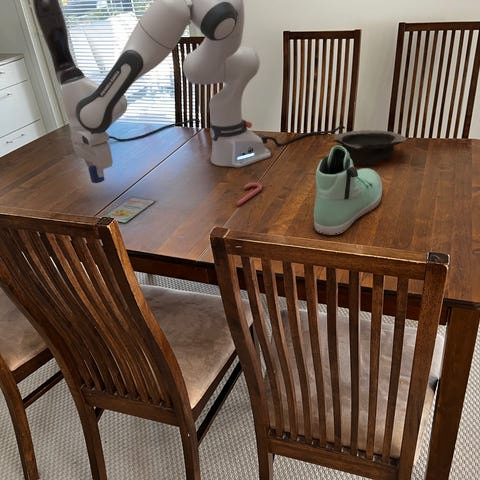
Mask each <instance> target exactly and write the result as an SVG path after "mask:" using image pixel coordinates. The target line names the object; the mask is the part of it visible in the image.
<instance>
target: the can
mask: <svg viewBox="0 0 480 480" xmlns="http://www.w3.org/2000/svg"><path fill="white" fill-rule="evenodd" d="M87 169H88V173H89V179H90V181H91V183H92V184H100V183H102V182H104V181H105V180H106V179H105V175H104V176H103V177H98V176H97V174H96V171H97V168H96V166H95V165H93V166H90V167H89V168H88V167H87Z"/></svg>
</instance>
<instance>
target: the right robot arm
mask: <svg viewBox="0 0 480 480" xmlns="http://www.w3.org/2000/svg"><path fill="white" fill-rule="evenodd" d="M191 24H193V25H194V26H195V27H196V28H197V29H198V30H199V31H200V33H201V34H202V35H203V36H204V39H203V41H202V42H201V43H200V44H199V46H198V47H196V48H195V49H194V50H193V51H191V52H189V53H187V55H186V56H185V58H184V60H183V64H182V70H183V74H184V76H185V78H186V80H187V81H188V82H189V83H190V84H193V85H203V86H205V85H214V84H223V83H224V85H223V87H222V88H221V90H219V91H218V92H217V93H215V94H214V95H213V96H212V97H211V98H210V99H209V104H208V106H209V116H210V123H209V127H210V128H209V130H210V131H209V132H210V138H211V146H212V147H211V156H210V162H211V164H212V165H215V166H219V167H232V168H242V167H246V166H249V165H251V164H254V163H257V162H261V161H264V160H265V159H268V158H271V156H272V154H271V151H270V150H269V148H267V147H265V145H266V144H268V140H271V141H273V143H274V144H275V145H276V146H278V147H282V146H285V145H288V144H290V143H292V142H294V141H297V140H299V139H302V138H305V137H308V136H313V135H325V134H333V133H336V132H338V131H339V130H340V129H342V130H345V129H346V127H345V126H344V125H342V124H341V125H339V126H337V127H336V128H334V129H330V130H321V131H311V132H305V133H302V134H300V135H298V136H295V137H293V138H290V139H288V140H287V141H285V142H282V143H281V142H280V143H279V142H278V141H277V139H276V138H275V137H273V136H268V135H267V136H266V135H264V134H262V133H258V134H256V132H253V131H252V130H250V129H251V128H252V127H253V123H252V122H250V121H248V120H245V119H244V118H243V115H242V101H243V100H242V99H243V95H244V92H245V89H246V88H247V86H248V84H249V83H250V82H251V80H253V78H254V77H255V76H256V75H257V74H258V72H259V69H260V65H261V64H260V63H261V61H260V56H259V53H258V52H257V50H256V49H255V48H254V47H253V46H247V45H242V42H243V36H244V35H243V33H244V27H245V2H244V0H154V1H153V2H152V3H151V4H150V5H149V6H148V8H147V9H146V10H145V12H144V13H143V14H142V15H141V17H140V18H139V19H138V21H137V23H136V24H135V26H134V28H133V30H132V32H131V33H130V35H129V37H128V40H127V42H126V43H125V45H124V47H123V49H122V51H121V53H120V55H119V56H118V58H117V59H116V61H115V63H114V65H113V66H112V67H111V68H110V70H109V72H108V73H107V74H106V76H105V77H104V79H103V80H102V81H101V83H98V82H95V81H93V80H91V79H90V78H89V77H88V76H85V75H84V76H78V77H74V78H72V79H69V80H67V81H65V82H64V83H63V85H62V86H61V97H62V102H63V106H64V110H65V112H66V114H68V115H67V118H68V117H69V118H68V126H69V129H70V134H71V135H70V136H71V143H72V148H73V152H74V154H75V155H76V156H77V157H79V158H80V159H83V160H84V163H85V165H86V166H87V169H88V168H89V167H90V166H93V165H95V166H96V168H97V171H96V174H97V176H98V177H103V176H104V177H105V173H104V170H105V169H108V168H111V167H112V166H113V165H114V164H113V163H114V161H113V155H112V149H111V146H110V143H109V142H110V138H109V136H110V135H109V134H108V133H107V131H108V129H109V128H110V127H111V126H112V125H113V124H114V123H116V122H117V121H118V120H119V119H120V118H121V117H122V116H123V115H124V114H125V113H126V111H127V109H128V100H127V97H126V95H125V94H126V93H127V92H128V90H129V89H130V88H131V86H132V85H133V84H134V83H135V82H136V81H138V80H139V79H140V78H141V77H144V75H146V74H147V73H148V72H150V71H152V70H153V69H155V68H156V67H158V66H159V65H160V64H161V63H162V62H163V61H164V60H166V58H167V57H168V56H169V55H170V54H171V53H172V51H173V50H174V49H175V48H176V46H177V45H178V43H179V41H180V40H181V38H182V37H183V34H184V33H185V31H186V29H187V27H188V26H189V25H191Z"/></svg>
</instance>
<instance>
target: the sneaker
mask: <svg viewBox="0 0 480 480" xmlns="http://www.w3.org/2000/svg"><path fill="white" fill-rule="evenodd" d="M317 165H318V166H317V168H316V172H315V201H314V207H313V225H314V229H315V231H316V232H318V233H320V234H323V235H326V236H327V235H328V236H336V235H339V234H342V233H344V232H345V231H347V230H348V229H349V228H350V227H351V226H352V225H353V224H354V222H356V221H357V220H358V219H359V218H360V217H362V216H363V215H365V214H367V213H370V212H372V210H374V209H375V208H377V207H378V205H380V203H381V200H382V196H383V184H382V183H383V182H382V179H381V176H380V175H379V173H378V172H377V171H376V170H374V169H372V168H367V167H365V168H358V169H357V168H355V167H354V164H353V161H352V159H351V158H350V156H349V153H348V152H347V150H346V149H345V148H344V147H342V145H334V146H333V147H331V149H330V151H329V154H327V155H326V156H325V157H324V158H322V159H321V160H320V161H319V163H318V164H317ZM343 230H344V231H343ZM319 231H320V232H319ZM322 232H323V233H322ZM339 232H340V233H339ZM326 233H327V234H326ZM328 233H329V234H328ZM335 233H337V234H335Z"/></svg>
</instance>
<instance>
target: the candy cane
mask: <svg viewBox="0 0 480 480" xmlns="http://www.w3.org/2000/svg"><path fill="white" fill-rule="evenodd" d="M249 188H255V189H253V190H252V191H250V192H249V193H247V194H246V195H244V196H243V197H241V199H239V200H237V201H236V203H235V205H236V206H238V207H239V206H241V205H242V204H244V203H245V202H247V201H248V200H250V199H251V198H252V197H253V196H255V195H257V194H258V193H260V192H261V191H262V190H263V184H261V183H259V182H255V181H253V182H248V183H246V184H244V186H243V189H244V190H248V189H249Z"/></svg>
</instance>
